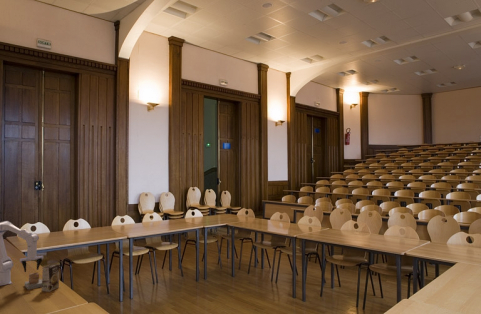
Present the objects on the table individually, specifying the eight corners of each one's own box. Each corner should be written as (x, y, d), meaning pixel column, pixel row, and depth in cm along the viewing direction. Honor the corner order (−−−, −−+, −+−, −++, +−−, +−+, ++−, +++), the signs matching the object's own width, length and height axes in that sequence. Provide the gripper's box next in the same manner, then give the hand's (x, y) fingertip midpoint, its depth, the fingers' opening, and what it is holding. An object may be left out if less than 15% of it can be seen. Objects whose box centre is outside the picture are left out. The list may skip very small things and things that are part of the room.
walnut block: (29, 282, 248) (29, 273, 249) (37, 280, 252) (37, 272, 252) (30, 284, 245) (30, 275, 245) (38, 282, 248) (39, 274, 248)
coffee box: (49, 292, 237) (50, 268, 238) (41, 291, 239) (42, 267, 239) (59, 287, 246) (59, 264, 247) (51, 286, 248) (51, 263, 248)
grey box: (24, 286, 249) (24, 282, 249) (40, 283, 255) (40, 279, 255) (27, 290, 241) (27, 286, 241) (44, 287, 248) (44, 282, 248)
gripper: (21, 254, 243) (20, 273, 242) (44, 251, 252) (44, 269, 252) (19, 252, 248) (18, 271, 248) (42, 249, 257) (41, 267, 257)
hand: (31, 270), depth 250 cm, fingers open, 7 cm apart
